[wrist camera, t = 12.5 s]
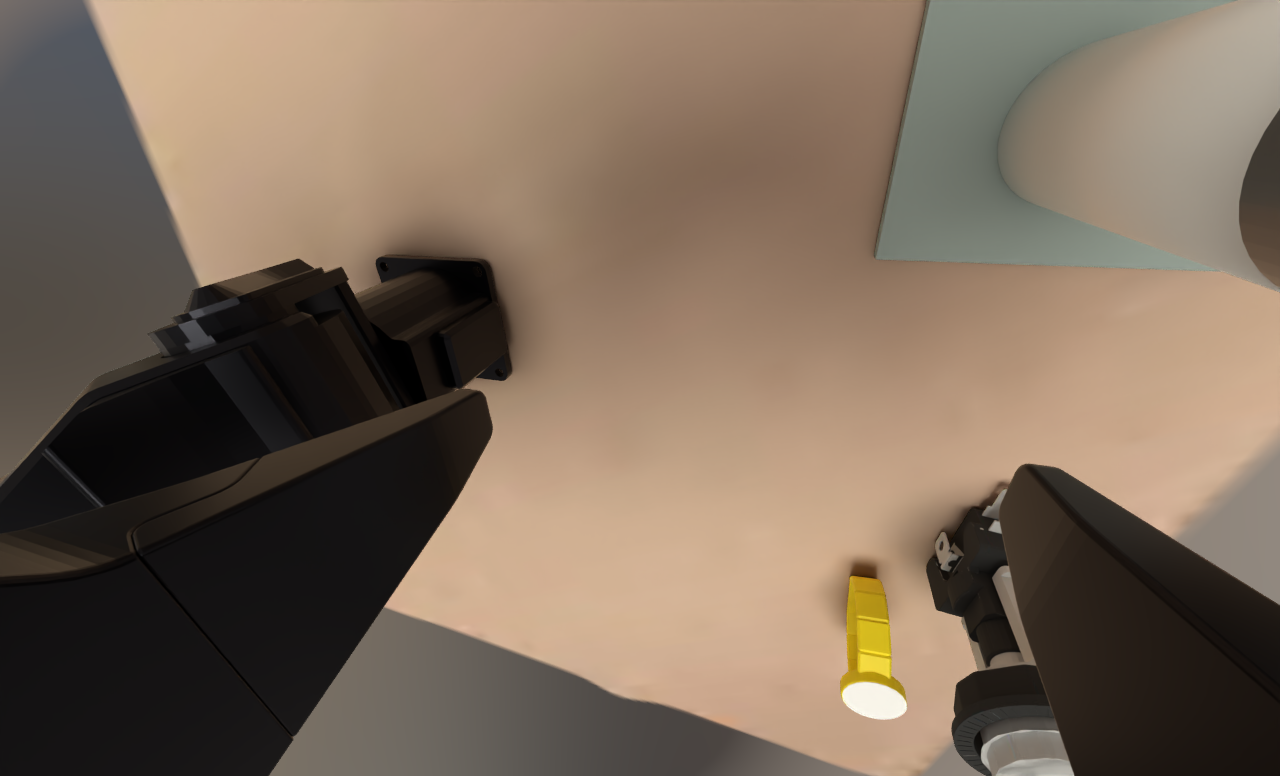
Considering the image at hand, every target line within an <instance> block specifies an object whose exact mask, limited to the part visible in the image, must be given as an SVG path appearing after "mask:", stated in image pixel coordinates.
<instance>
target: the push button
mask: <svg viewBox="0 0 1280 776" xmlns="http://www.w3.org/2000/svg"><path fill="white" fill-rule="evenodd" d="M1006 491H1007V489H1003V490H1002V491H1001V493H1000V494H999V496H998V497H997V499H996V500H995V502H994V503H993V505H992V506H989V505H988V506H987V507H986V509H985V510H979V509H975V508H972V509H971V510H970V511H969V513H968V515H967V516H966V518H965V519H964V521H963V523H962V524H961V526H960V527H959V529H958V531H957V532H956V534H955V535H954V537H953V539H952V540H951V542H950V543H949V541H948V538H947V535H946V533H945V532H942V533H941V534H940V536H939V538H938V539H937V541H936V543H935V549H936V553H937V556H938V559H936V558H931V559H930V561H929V562H928V564H927V568H926V572H927V576H928V580H929V584H930V587H931V591H932V595H933V599H934V603H935V607H936V609H937V610H938V611H942V612H945V613H949V614H952V615H956V616H959V617H963V618H962V620H961V622H962V625H963V628H964V629H965V630H966V632H967V635H968V638H969V642H970V645H971V648H972V652H973V655H974V658H975V662H976V665H977V668H978V671H976V672H973V673H972V674H970V675H969V676H967V677H966V678H964V679H963V680H961V681H960V682H958V683H957V685H956V692H955V701H954V712H955V716H956V717H955V718H954V720H953V723H952V728H951V729H952V736H953V740H954V744H955V747H956V750H957V752H958V753H959V754H960V756H961V757H962V758H963V759H964V760H965V761H966V762H967V763H968V764H969V765H970V766H971V767H973V768H974V769H976V770H977V771H979V772H980V773H982V774H984V775H986V776H1074V773H1073V771H1072V768H1071V765H1070V762H1069V759H1068V756H1067V753H1066V750H1065V747H1064V744H1063V742H1062V739H1061V736H1060V733H1059V730H1058V727H1057V724H1056V721H1055V718H1054V715H1053V713H1052V710H1051V707H1050V704H1049V701H1048V698H1047V695H1046V692H1045V689H1044V686H1043V684H1042V681H1041V678H1040V675H1039V672H1038V669H1037V666H1036V663H1035V660H1034V657H1033V655H1032V652H1031V649H1030V646H1029V643H1028V640H1027V637H1026V634H1025V631H1024V628H1023V625H1022V622H1021V618H1020V615H1019V611H1018V607H1017V603H1016V598H1015V593H1014V589H1013V584H1012V579H1011V575H1010V570H1009V565H1008V560H1007V556H1006V551H1005V546H1004V541H1003V537H1002V532H1001V527H1000V522H999V508H1000V505H1001V502H1002V500H1003V498H1004V496H1005V493H1006ZM942 541H943V543H944V547H943V550H942V551H941V548H940V547H941V543H942Z"/></svg>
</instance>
